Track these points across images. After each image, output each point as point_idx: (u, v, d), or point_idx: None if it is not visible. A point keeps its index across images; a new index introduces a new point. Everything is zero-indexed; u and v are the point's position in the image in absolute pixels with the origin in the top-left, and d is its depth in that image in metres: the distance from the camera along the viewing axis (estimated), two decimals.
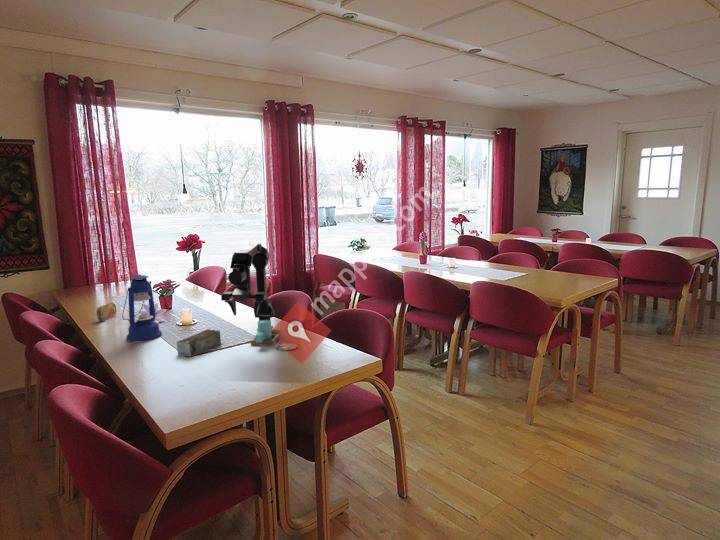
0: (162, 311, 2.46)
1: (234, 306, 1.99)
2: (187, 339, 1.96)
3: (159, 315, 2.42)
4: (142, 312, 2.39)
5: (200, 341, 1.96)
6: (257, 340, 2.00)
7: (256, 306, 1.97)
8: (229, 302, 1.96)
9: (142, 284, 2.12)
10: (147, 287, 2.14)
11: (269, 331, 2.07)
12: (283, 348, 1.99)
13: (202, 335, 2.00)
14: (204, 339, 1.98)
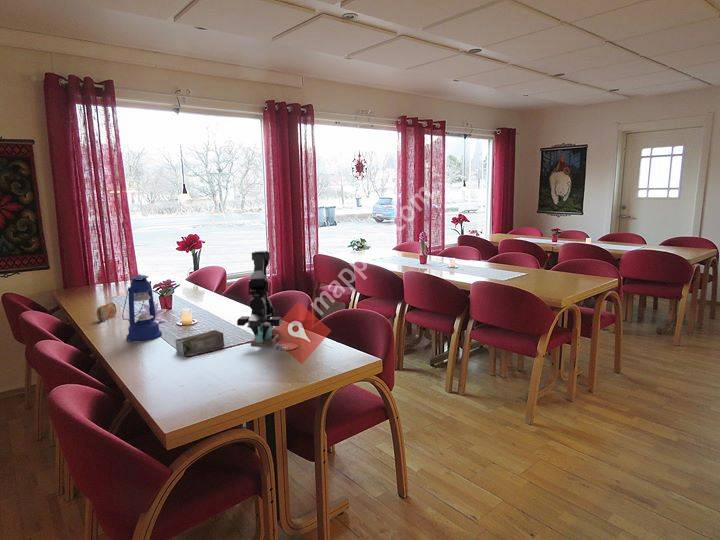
0: (162, 311, 2.46)
1: (256, 331, 2.02)
2: (186, 338, 1.97)
3: (159, 315, 2.42)
4: (142, 312, 2.39)
5: (196, 341, 1.95)
6: (257, 340, 2.00)
7: (264, 331, 2.00)
8: (252, 327, 1.99)
9: (142, 284, 2.12)
10: (147, 287, 2.14)
11: (269, 331, 2.07)
12: (283, 348, 1.99)
13: (202, 336, 1.99)
14: (202, 340, 1.96)
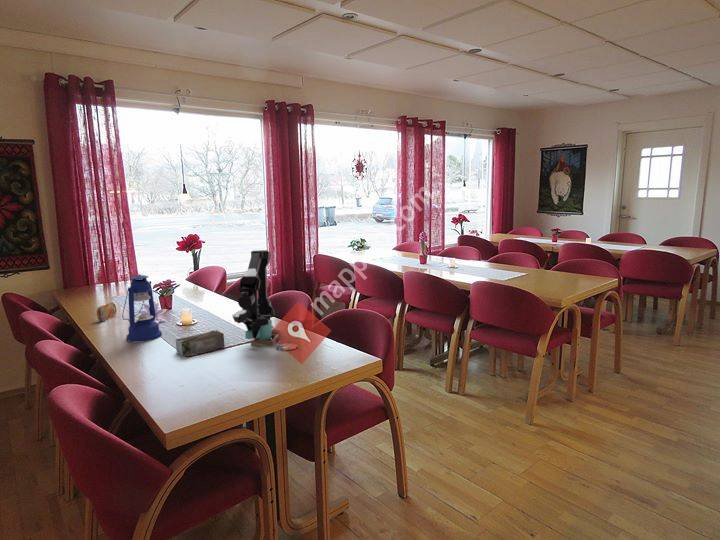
0: (163, 311, 2.46)
1: (250, 327, 2.05)
2: (186, 338, 1.97)
3: (159, 315, 2.42)
4: (143, 312, 2.40)
5: (196, 342, 1.95)
6: (246, 336, 2.03)
7: (252, 329, 2.01)
8: None
9: (142, 284, 2.12)
10: (147, 287, 2.14)
11: (265, 331, 2.06)
12: (283, 348, 1.99)
13: (202, 336, 1.99)
14: (201, 340, 1.96)
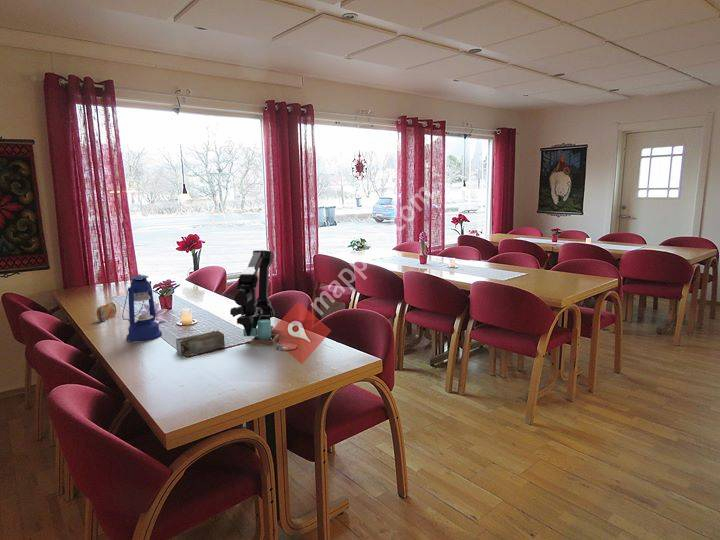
0: (163, 311, 2.46)
1: (253, 323, 2.12)
2: (187, 338, 1.98)
3: (160, 315, 2.42)
4: (143, 312, 2.40)
5: (195, 342, 1.95)
6: None
7: None
8: None
9: (142, 284, 2.12)
10: (147, 287, 2.14)
11: (260, 331, 2.07)
12: (283, 348, 1.99)
13: (203, 336, 1.99)
14: (200, 340, 1.96)
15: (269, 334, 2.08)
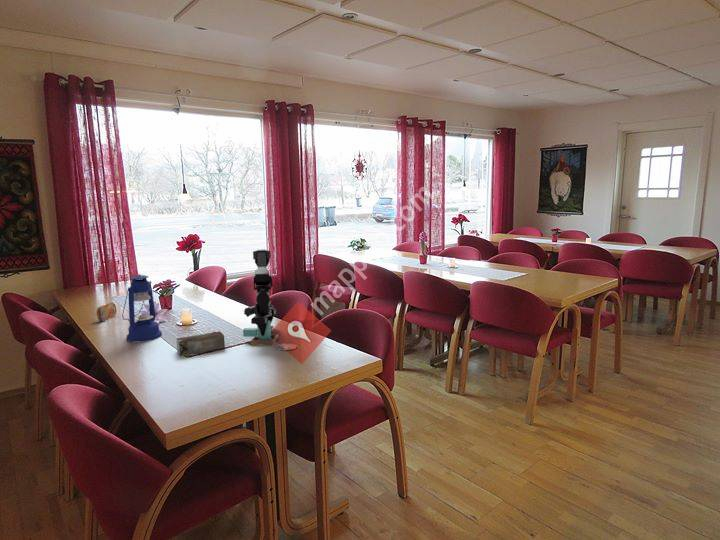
0: (163, 311, 2.47)
1: None
2: (187, 338, 1.98)
3: (160, 315, 2.42)
4: (143, 312, 2.40)
5: (194, 342, 1.94)
6: None
7: None
8: None
9: (142, 284, 2.12)
10: (147, 287, 2.14)
11: (259, 332, 2.06)
12: (283, 348, 1.99)
13: (202, 336, 1.98)
14: (200, 341, 1.95)
15: (269, 334, 2.08)
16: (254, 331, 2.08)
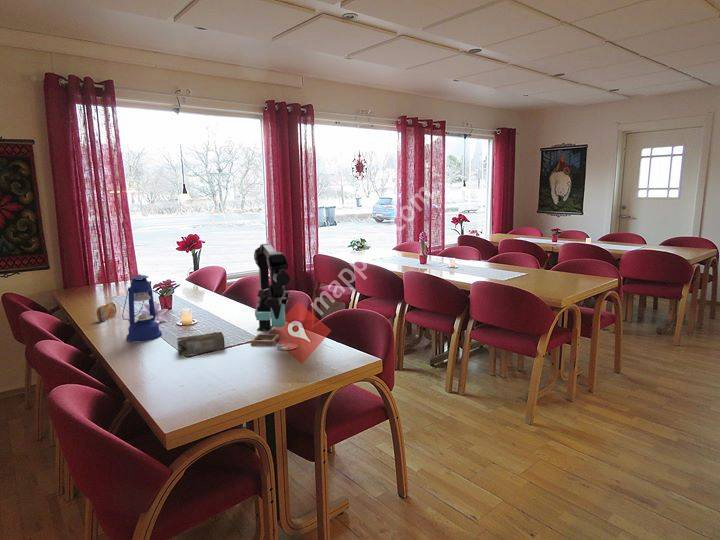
0: (164, 311, 2.47)
1: None
2: (187, 337, 1.98)
3: (160, 315, 2.42)
4: (143, 312, 2.40)
5: (193, 342, 1.94)
6: None
7: None
8: None
9: (142, 284, 2.12)
10: (147, 287, 2.14)
11: (273, 315, 1.99)
12: (283, 348, 1.99)
13: (202, 336, 1.98)
14: (199, 341, 1.95)
15: (283, 318, 2.00)
16: (268, 314, 2.00)
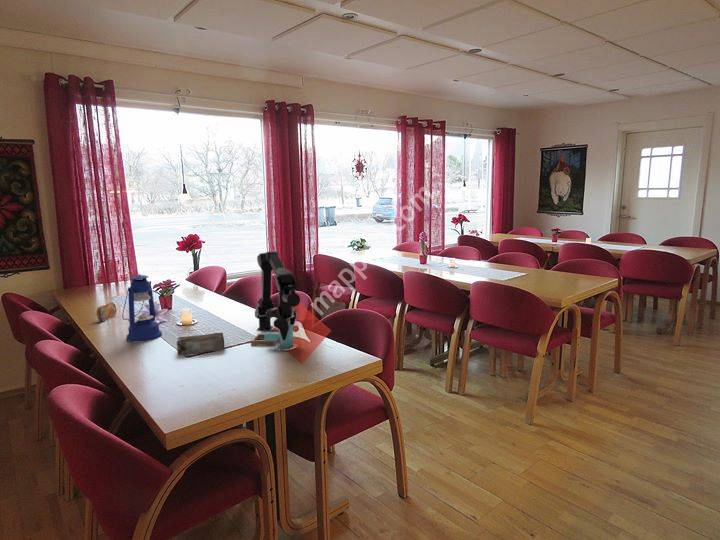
0: (164, 311, 2.47)
1: (289, 324, 2.05)
2: (188, 337, 1.99)
3: (160, 315, 2.43)
4: (144, 311, 2.40)
5: (192, 342, 1.94)
6: None
7: None
8: None
9: (142, 284, 2.12)
10: (147, 287, 2.14)
11: (281, 336, 1.98)
12: None
13: (202, 337, 1.98)
14: (198, 341, 1.95)
15: (291, 339, 1.99)
16: (276, 335, 1.99)
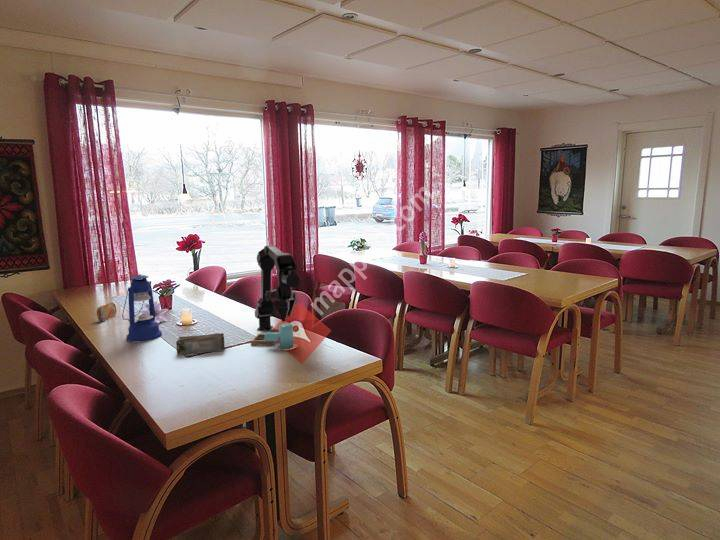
0: (164, 311, 2.47)
1: (288, 307, 2.03)
2: (188, 337, 1.99)
3: (161, 315, 2.43)
4: (144, 311, 2.40)
5: (191, 342, 1.94)
6: None
7: None
8: None
9: (142, 284, 2.12)
10: (147, 287, 2.14)
11: (281, 336, 1.98)
12: None
13: (202, 337, 1.97)
14: (197, 341, 1.95)
15: (291, 339, 1.99)
16: (276, 335, 2.00)
